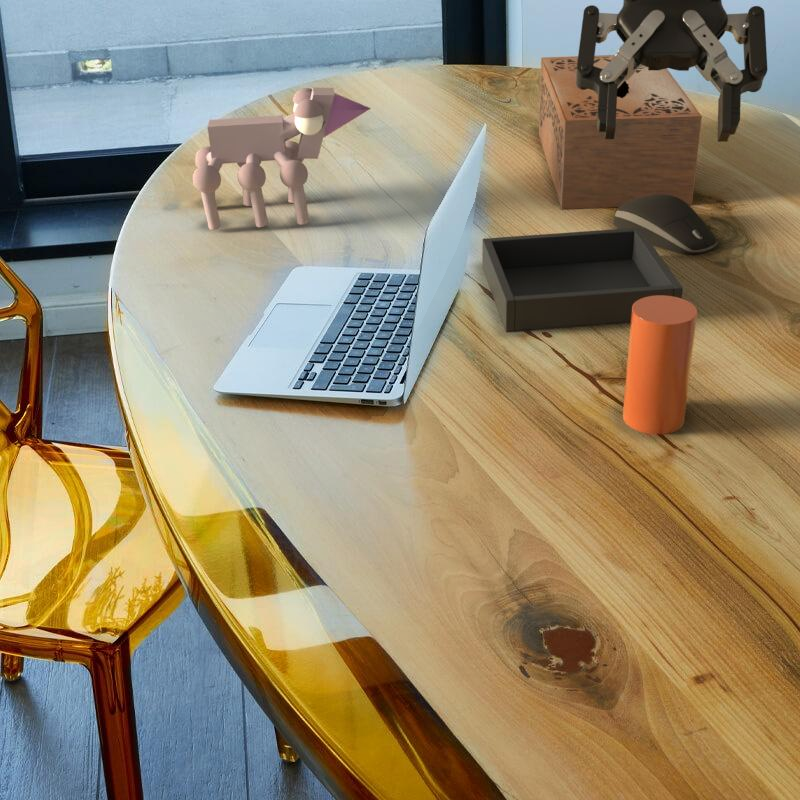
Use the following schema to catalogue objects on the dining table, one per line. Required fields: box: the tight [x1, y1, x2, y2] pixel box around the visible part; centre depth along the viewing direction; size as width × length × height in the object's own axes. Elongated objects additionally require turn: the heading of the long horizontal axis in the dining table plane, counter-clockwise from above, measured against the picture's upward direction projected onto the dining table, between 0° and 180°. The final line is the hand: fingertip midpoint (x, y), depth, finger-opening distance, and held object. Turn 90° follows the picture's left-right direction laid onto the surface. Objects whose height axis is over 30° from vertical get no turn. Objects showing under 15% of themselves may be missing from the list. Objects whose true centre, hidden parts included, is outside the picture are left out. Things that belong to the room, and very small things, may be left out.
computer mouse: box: [613, 194, 718, 256], centre depth 111 cm, size 7×12×4 cm, turn 32°
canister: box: [622, 295, 698, 435], centre depth 80 cm, size 5×5×10 cm
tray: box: [481, 228, 684, 333], centre depth 100 cm, size 16×14×4 cm
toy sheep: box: [192, 87, 372, 231], centre depth 118 cm, size 20×11×14 cm, turn 95°
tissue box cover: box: [538, 54, 703, 210], centre depth 128 cm, size 26×14×10 cm, turn 179°
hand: (666, 136), depth 83 cm, fingers open, 8 cm apart
